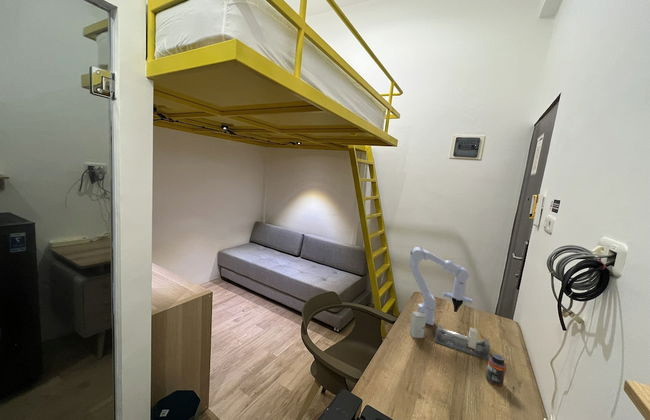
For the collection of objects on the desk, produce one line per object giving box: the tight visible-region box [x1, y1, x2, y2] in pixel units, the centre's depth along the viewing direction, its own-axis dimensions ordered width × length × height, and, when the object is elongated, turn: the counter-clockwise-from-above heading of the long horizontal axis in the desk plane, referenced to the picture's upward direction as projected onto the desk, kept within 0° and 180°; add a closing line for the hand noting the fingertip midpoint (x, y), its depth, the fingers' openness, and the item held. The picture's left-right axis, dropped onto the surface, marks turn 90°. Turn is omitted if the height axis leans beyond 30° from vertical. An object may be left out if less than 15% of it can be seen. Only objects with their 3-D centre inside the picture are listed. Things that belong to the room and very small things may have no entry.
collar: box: [467, 327, 479, 349], centre depth 121 cm, size 3×5×8 cm, turn 154°
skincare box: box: [409, 311, 427, 339], centre depth 127 cm, size 6×4×12 cm
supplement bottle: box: [485, 352, 507, 387], centre depth 100 cm, size 6×6×11 cm
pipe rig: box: [434, 324, 492, 361], centre depth 123 cm, size 24×12×6 cm, turn 64°
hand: (455, 311), depth 138 cm, fingers closed
